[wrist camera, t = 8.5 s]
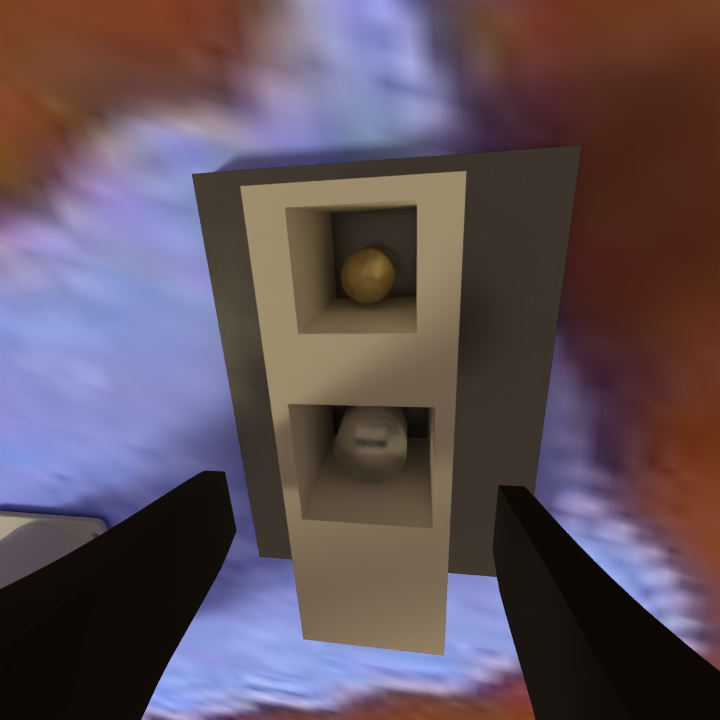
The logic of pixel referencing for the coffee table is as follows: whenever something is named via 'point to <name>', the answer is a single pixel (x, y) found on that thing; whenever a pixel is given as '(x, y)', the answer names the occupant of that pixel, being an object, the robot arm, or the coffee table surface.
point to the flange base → (398, 279)
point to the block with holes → (361, 404)
